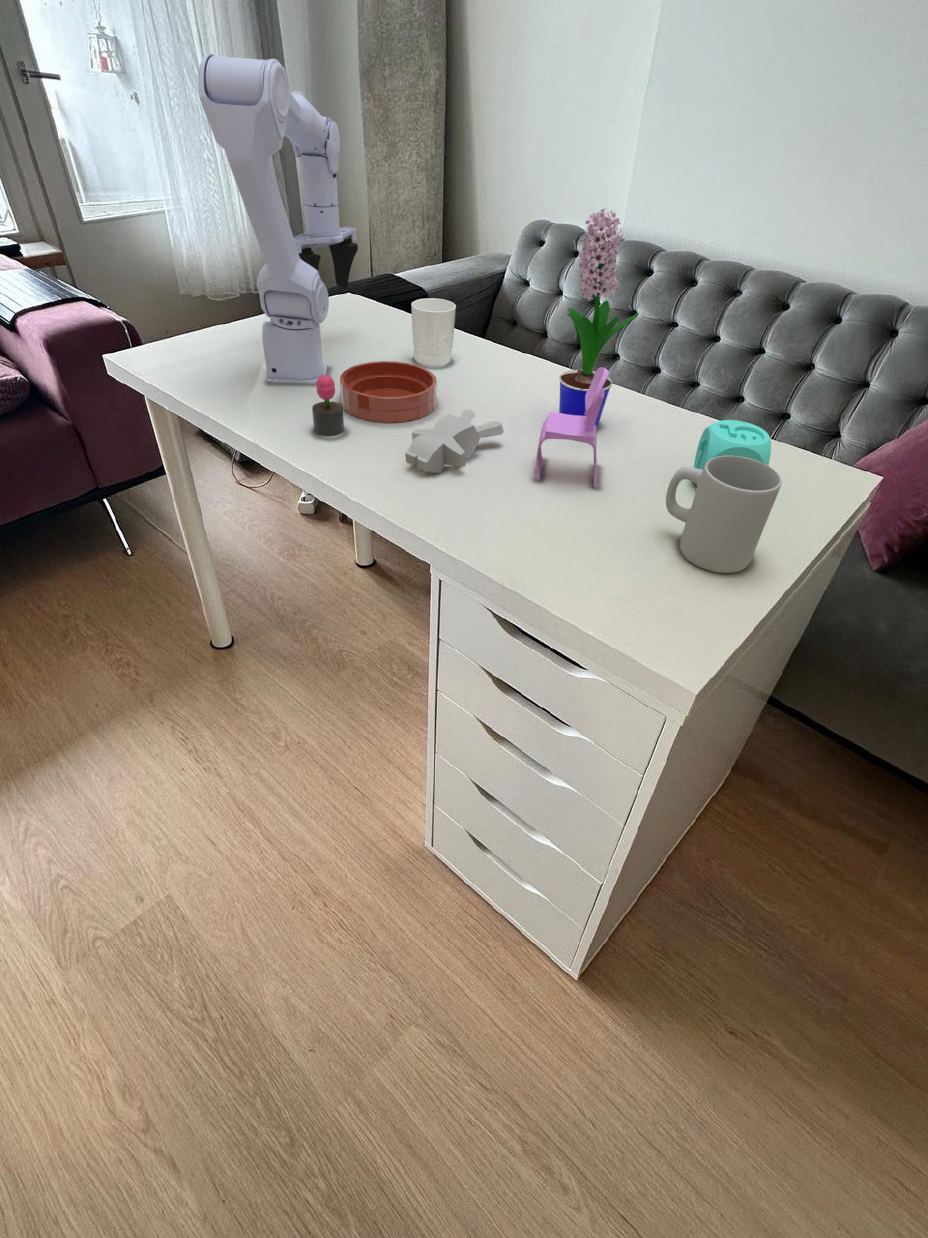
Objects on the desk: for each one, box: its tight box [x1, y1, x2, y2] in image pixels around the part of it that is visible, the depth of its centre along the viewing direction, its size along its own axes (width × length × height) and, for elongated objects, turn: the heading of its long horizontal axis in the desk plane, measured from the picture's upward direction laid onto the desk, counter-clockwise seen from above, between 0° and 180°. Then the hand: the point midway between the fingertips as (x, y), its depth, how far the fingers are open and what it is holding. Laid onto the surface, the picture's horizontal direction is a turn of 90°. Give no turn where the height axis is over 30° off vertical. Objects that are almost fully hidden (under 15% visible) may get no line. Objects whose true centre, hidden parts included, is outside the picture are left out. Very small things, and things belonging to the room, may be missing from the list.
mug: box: [665, 456, 783, 574], centre depth 79 cm, size 12×8×11 cm
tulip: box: [311, 374, 345, 437], centre depth 98 cm, size 4×4×9 cm
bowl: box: [339, 360, 438, 424], centre depth 108 cm, size 15×15×4 cm
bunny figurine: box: [404, 409, 505, 474], centre depth 96 cm, size 10×5×15 cm
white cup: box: [410, 297, 457, 367], centre depth 122 cm, size 8×8×10 cm
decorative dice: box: [693, 419, 772, 470], centre depth 93 cm, size 8×8×8 cm
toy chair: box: [535, 366, 610, 489], centre depth 90 cm, size 8×9×15 cm
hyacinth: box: [558, 207, 640, 430], centre depth 98 cm, size 9×10×30 cm
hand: (327, 290), depth 122 cm, fingers open, 7 cm apart
